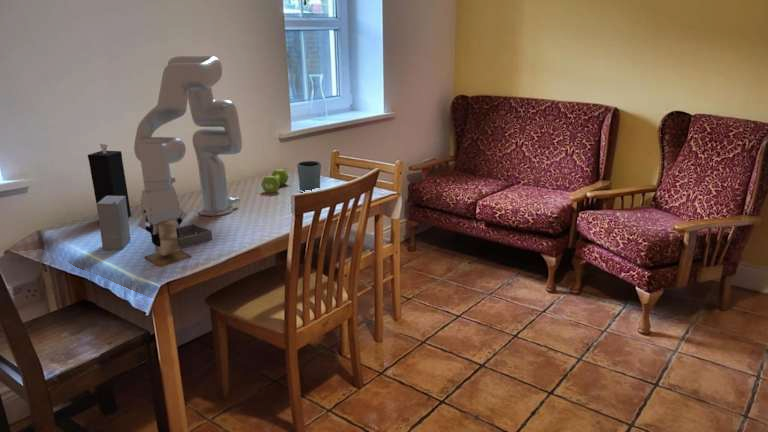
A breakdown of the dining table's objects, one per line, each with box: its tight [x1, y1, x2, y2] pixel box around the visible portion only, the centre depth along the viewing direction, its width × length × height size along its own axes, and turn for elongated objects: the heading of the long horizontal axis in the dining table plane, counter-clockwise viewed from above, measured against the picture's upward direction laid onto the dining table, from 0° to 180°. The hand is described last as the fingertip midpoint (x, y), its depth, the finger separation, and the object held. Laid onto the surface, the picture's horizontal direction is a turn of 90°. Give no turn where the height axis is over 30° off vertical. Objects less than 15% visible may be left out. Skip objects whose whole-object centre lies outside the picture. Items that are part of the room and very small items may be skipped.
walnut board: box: [143, 248, 192, 267], centre depth 174 cm, size 10×10×1 cm
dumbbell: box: [260, 168, 290, 194], centre depth 248 cm, size 16×8×7 cm, turn 171°
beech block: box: [154, 220, 180, 256], centre depth 172 cm, size 5×5×10 cm
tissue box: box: [87, 143, 132, 218], centre depth 206 cm, size 8×8×28 cm
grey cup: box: [296, 160, 322, 192], centre depth 243 cm, size 10×10×12 cm
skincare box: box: [96, 196, 132, 251], centre depth 182 cm, size 8×7×16 cm
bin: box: [178, 223, 213, 249], centre depth 188 cm, size 11×11×3 cm
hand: (166, 242), depth 172 cm, fingers closed on beech block, 5 cm apart
